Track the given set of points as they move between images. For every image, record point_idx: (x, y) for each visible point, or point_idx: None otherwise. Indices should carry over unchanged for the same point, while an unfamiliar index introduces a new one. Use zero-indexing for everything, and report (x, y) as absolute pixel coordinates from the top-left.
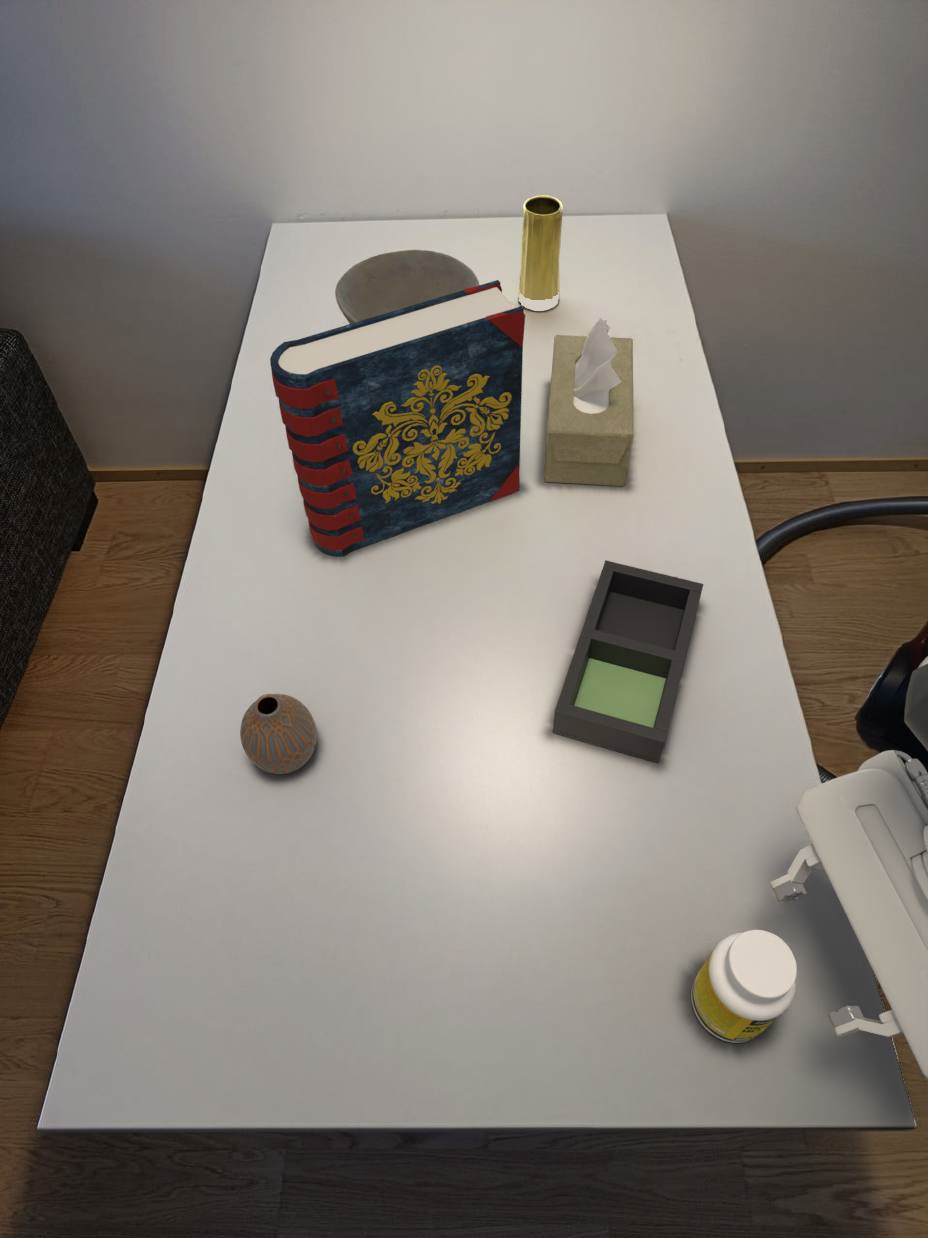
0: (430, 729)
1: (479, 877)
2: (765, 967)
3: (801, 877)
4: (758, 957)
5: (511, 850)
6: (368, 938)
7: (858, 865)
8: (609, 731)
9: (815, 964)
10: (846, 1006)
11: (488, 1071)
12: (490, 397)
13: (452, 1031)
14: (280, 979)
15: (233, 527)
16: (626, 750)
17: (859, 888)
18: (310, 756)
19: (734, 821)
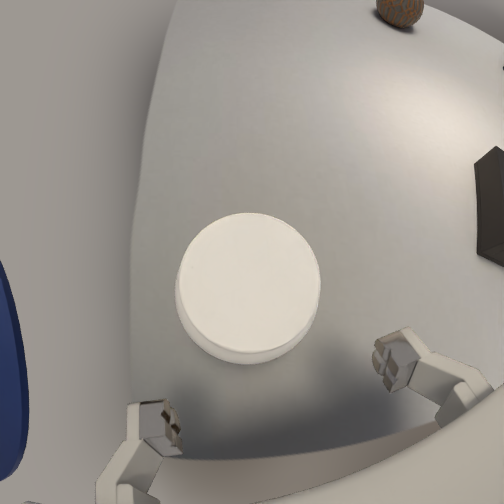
0: (442, 84)
1: (344, 89)
2: (240, 283)
3: (422, 380)
4: (261, 271)
5: (373, 113)
6: (282, 33)
7: (479, 490)
8: (497, 193)
9: (290, 410)
10: (164, 433)
11: (184, 90)
12: None
13: (216, 69)
14: (251, 6)
15: (489, 40)
16: (481, 221)
17: (427, 501)
18: (394, 19)
19: (439, 330)
